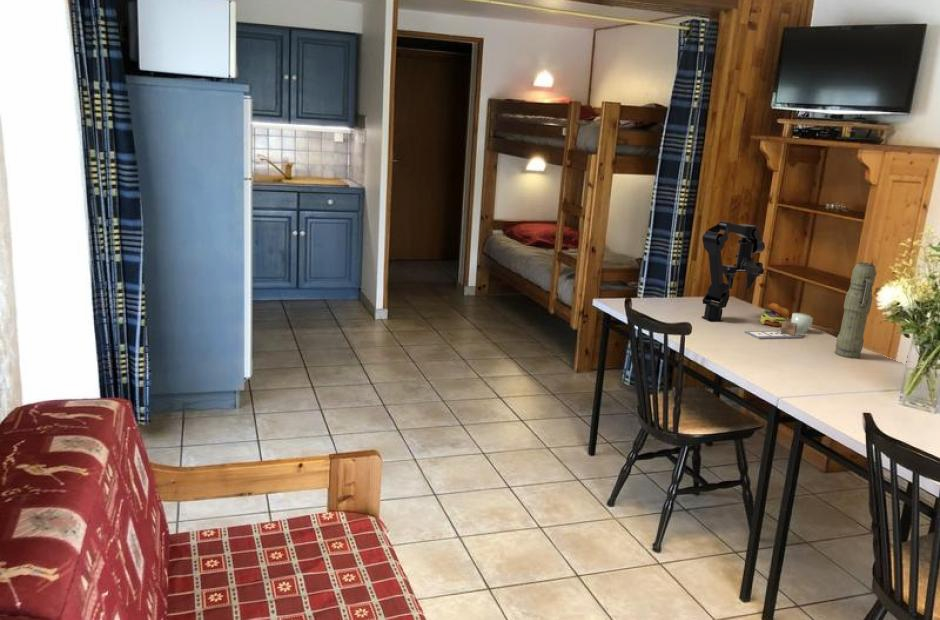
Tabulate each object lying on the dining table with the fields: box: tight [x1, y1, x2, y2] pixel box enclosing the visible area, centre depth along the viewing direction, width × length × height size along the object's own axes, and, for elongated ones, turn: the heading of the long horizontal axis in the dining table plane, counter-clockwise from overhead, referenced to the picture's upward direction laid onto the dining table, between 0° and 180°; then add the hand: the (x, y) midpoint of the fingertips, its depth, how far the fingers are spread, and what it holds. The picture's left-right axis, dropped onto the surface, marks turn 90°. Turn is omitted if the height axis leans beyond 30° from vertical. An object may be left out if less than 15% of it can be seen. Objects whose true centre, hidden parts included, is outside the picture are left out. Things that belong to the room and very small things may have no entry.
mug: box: [790, 312, 814, 335], centre depth 320 cm, size 9×7×7 cm
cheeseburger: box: [759, 302, 790, 327], centre depth 329 cm, size 10×11×10 cm
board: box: [744, 330, 804, 340], centre depth 311 cm, size 21×9×1 cm, turn 108°
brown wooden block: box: [780, 320, 797, 336], centre depth 313 cm, size 5×5×4 cm
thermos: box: [834, 261, 877, 359], centre depth 287 cm, size 9×12×35 cm
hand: (739, 288), depth 337 cm, fingers open, 9 cm apart
